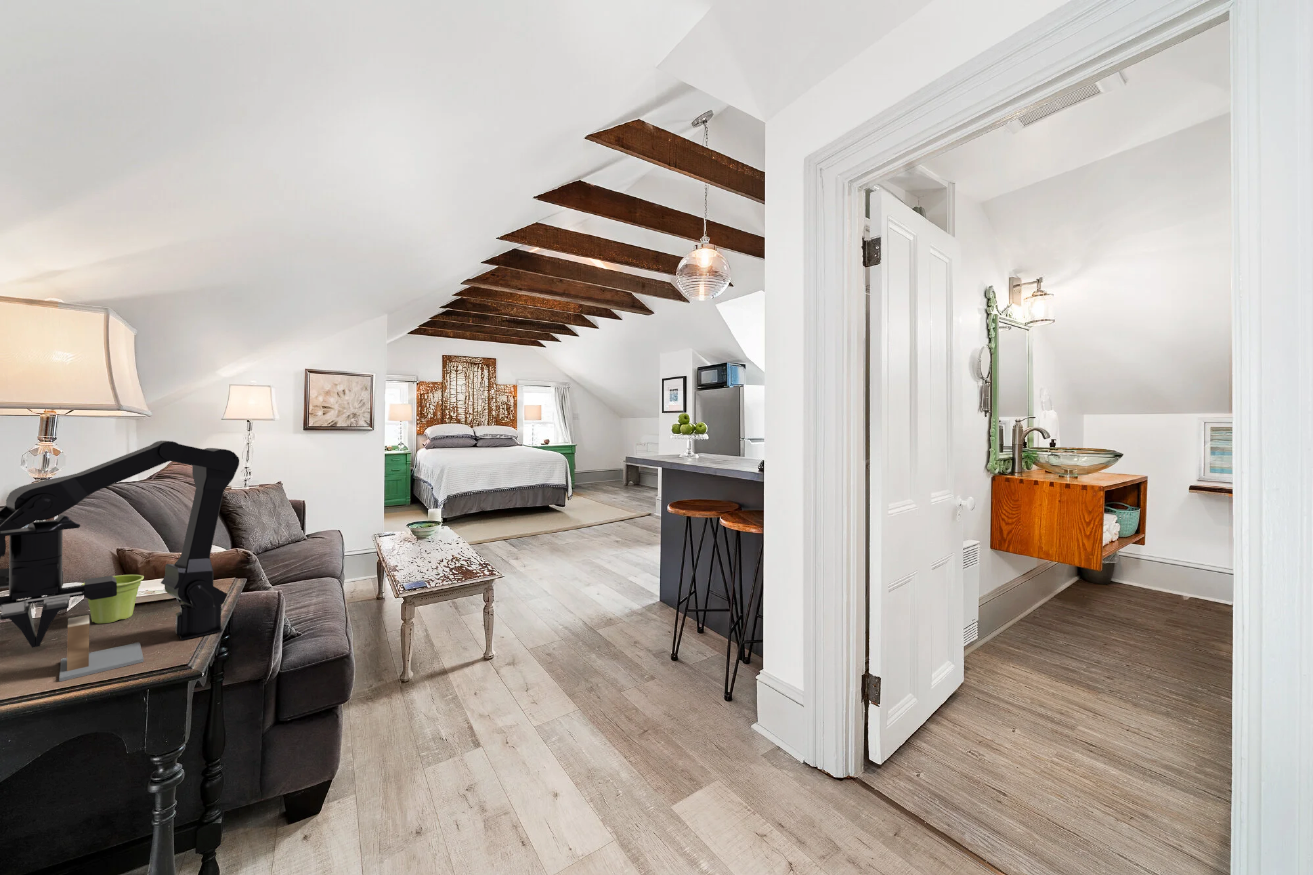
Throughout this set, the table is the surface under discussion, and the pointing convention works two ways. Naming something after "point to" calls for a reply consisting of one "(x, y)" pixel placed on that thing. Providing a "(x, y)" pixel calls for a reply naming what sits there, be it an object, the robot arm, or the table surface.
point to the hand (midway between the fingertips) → (35, 646)
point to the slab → (78, 643)
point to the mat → (105, 661)
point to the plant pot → (116, 601)
